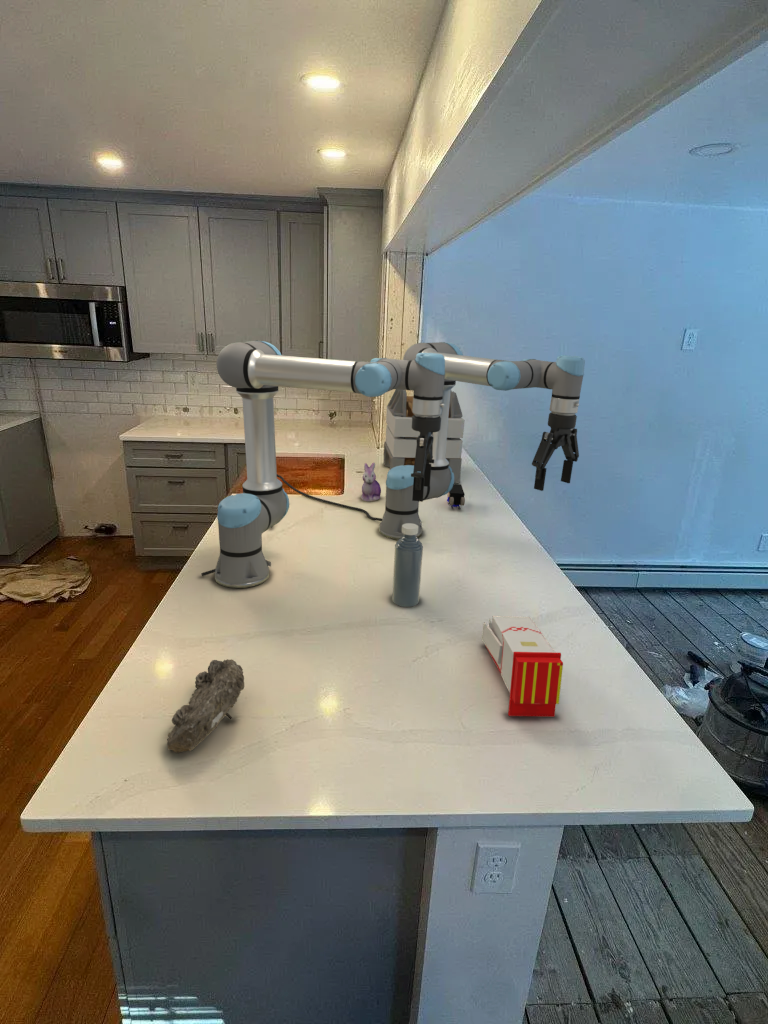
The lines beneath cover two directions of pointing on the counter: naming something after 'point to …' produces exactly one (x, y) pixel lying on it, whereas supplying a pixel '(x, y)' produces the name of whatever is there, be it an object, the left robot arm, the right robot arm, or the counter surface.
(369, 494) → the figurine
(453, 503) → the figurine character
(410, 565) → the bottle
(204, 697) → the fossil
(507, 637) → the toy
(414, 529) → the cap
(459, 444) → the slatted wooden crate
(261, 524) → the left robot arm
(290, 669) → the counter surface
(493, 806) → the counter surface
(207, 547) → the counter surface
